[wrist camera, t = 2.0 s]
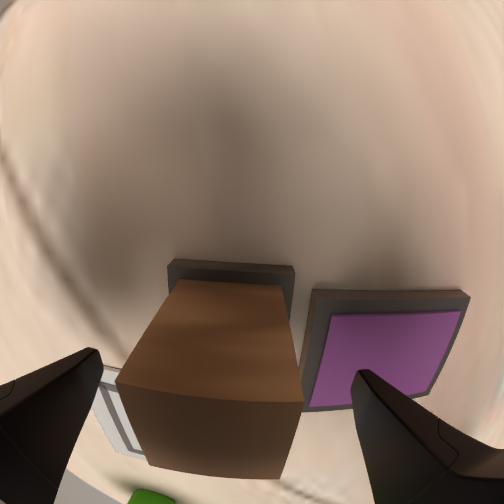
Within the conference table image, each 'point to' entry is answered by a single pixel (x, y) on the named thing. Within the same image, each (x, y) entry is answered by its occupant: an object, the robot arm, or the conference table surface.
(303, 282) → the conference table surface
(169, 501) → the cup
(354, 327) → the ink pad
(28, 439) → the robot arm
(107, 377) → the frame
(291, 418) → the stamp
